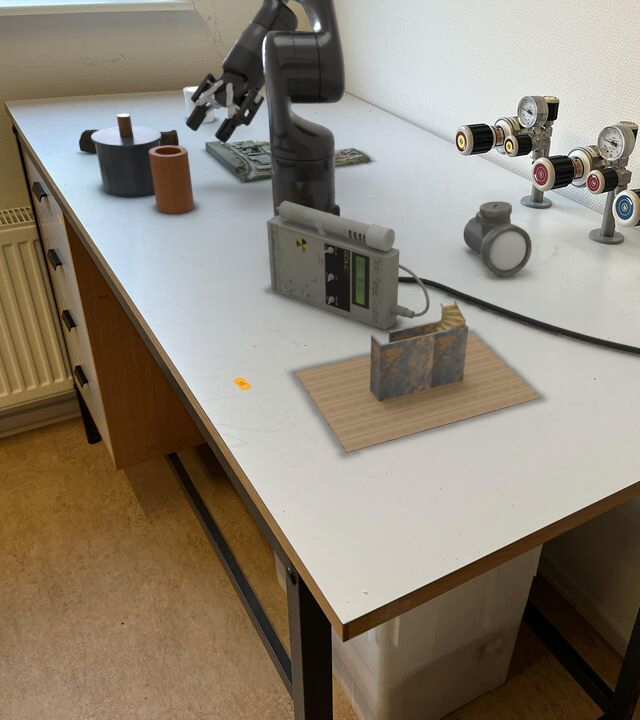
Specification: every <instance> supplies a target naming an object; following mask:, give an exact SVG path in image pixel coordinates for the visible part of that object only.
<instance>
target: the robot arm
mask: <svg viewBox="0 0 640 720" xmlns="http://www.w3.org/2000/svg"><path fill="white" fill-rule="evenodd" d="M290 1H291V0H263V1H262V3H261V6H260V7H259V9H258V10H257V11H256V13H255V14H254V16H253V18H252V19H251V21H250V23H249V24H247V27H246V28H244V30H242V32H241V33H240V35H239V37H238V39H236V41H235V43H234V44H233V46H232V47H231V49H230V50H229V52H228V54H227V55H226V56H225V58H224V59H223V61H222V63H221V67H222V71H223V72H222V74H221V75H220V77H218V78H217V77H216V76H215V75H213V73H211V72H209V73H207V74H206V76H205V77H204V78H203V80H202V81H201V83H200V84H199V85H198V86H199V87H198V88H197V90H196V91H195V93H194V94H193V96H192V97H191V100H192V101H193V102H194V103H195V108H194V110H193V112H192V113H191V115H190V117H189V116H188V118H187V120H186V121H185V125H186V127H188V128H189V129H190V130H191V131H194V132H197V131H198V130H199V129H200V127H201V125H203V123H202V122H203V120H204V119H205V117H206V116H207V115H206V114H207V113H209V112H210V111H212V110H213V109H214V110H219V109H221V108H225V109H227V117H225V118H224V119H223V121H222V122H221V124H220V126H219V127H218V129H217V131H216V132H215V133H214V137H215V138H216V139H217V141H220V142H221V144H223V143H228V141H229V140H230V138H231V137H232V135H233V134H234V132H235V130H237V128H238V127H241V126H242V125H244V126H245V127H248V126H250V125H251V123H252V122H253V120H254V118H255V116H256V114H257V113H258V112H259V109H260V108H261V106H262V104H263V103H264V101H265V97H264V96H263V95H262V93H261V90H262V89H263V87H264V85H265V95H266V105H267V117H268V134H269V142H270V158H271V177H272V178H271V190H272V191H271V192H272V193H271V194H272V208H273V217H275V216H278V215H279V212H277V209H276V208H277V207H280V205H281V203H282V202H283V201H288V202H291V203H295V204H298V205H302V206H305V207H309V208H312V209H315V210H319V211H322V212H326V213H331V214H333V215H336V216H340V217H341V207H340V205H338V204H336V167H335V152H336V142H335V141H336V140H335V135H334V132H333V131H332V130H330V128H328V127H326V126H325V125H322V124H318V123H316V122H313V121H310V120H308V119H305V118H303V117H302V116H300V115H298V114H297V113H295V112H294V111H293V110H292V107H291V106H292V105H313V104H314V105H325V104H327V105H328V104H335V103H338V102H340V101H341V100H342V99H343V97H344V95H345V92H346V87H347V86H346V85H347V74H346V73H347V72H346V71H347V70H346V61H345V54H344V49H343V43H342V37H341V33H340V26H339V21H338V16H337V11H336V6H335V1H334V0H292V1H294V2H296V3H298V4H299V5H301V6H302V7H303V10H304V12H305V14H306V16H307V19H308V20H309V23H310V27H311V29H312V31H311V30H298V29H299V26H300V21H299V18H298V15H296V13H295V12H294V11H293V9H291V7H289V6H288V5H289V2H290ZM202 93H204V96H203V97H202V98H199V97H200V95H201V94H202ZM213 95H214V98H213V97H212V96H213ZM208 102H209V103H210V104H209V105H207V106H206V104H207V103H208ZM247 111H248V113H247ZM246 113H247V115H245V114H246ZM418 278H419V279H420V280H421V282H422V283H423V285H424V286H428V287H431V288H434V289H437V290H439V291H442V292H445V293H448V294H449V295H451V296H454V297H456V298H458V299H460V300H464V301H466V302H468V303H471V304H474V305H477V306H479V307H482V308H484V309H487V310H490V311H492V312H495V313H497V314H499V315H503V316H506V317H507V318H508V317H509V318H511V319H514V320H516V321H520V322H523V323H525V324H528V325H530V326H534V327H537V328H540V329H543V330H545V331H549V332H552V333H555V334H558V335H562V336H565V337H568V338H572V339H574V340H575V339H576V340H579V341H582V342H586V343H590V344H593V345H597V346H601V347H604V348H605V347H606V348H610V349H613V350H617V351H622V352H626V353H631V354H636V355H640V347H638V346H633V345H629V344H628V345H627V344H624V343H620V342H615V341H611V340H607V339H602V338H599V337H594V336H591V335H587V334H584V333H580V332H576V331H574V330H569V329H566V328H563V327H560V326H556V325H553V324H551V323H547V322H543V321H541V320H539V319H535V318H532V317H529V316H527V315H524V314H520V313H518V312H515V311H512V310H509V309H507V308H503V307H501V306H498V305H496V304H493V303H491V302H488V301H485V300H483V299H480V298H477V297H475V296H472V295H470V294H467V293H464V292H462V291H460V290H458V289H455V288H452V287H450V286H448V285H445V284H442V283H439V282H437V281H433V280H430V279H427V278H422V277H418ZM398 283H403V284H404V283H409V284H419V283H418V282H417V280H416V279H415V278H414V277H413V276H398Z"/></svg>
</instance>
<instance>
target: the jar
mask: <svg viewBox="0 0 640 720" xmlns="http://www.w3.org/2000/svg"><path fill="white" fill-rule="evenodd" d="M149 158H150V165H151V172H152V178H153V185H154V192H155V194H154V197H155V204H156V209H157V210H158V211H159V212H160V213H164V214H170V215H172V214H173V215H176V214H177V215H179V214H183V213H188V212H190V211H192V210H193V209H194V208H195V205H194V204H195V202H194V194H193V185H192V176H191V169H190V162H189V161H190V160H189V159H190V158H189V151H188V149H187V148H186V147H183V146H170V145H169V146H168V145H167V146H158V147H154V148H152V149H150V150H149Z"/></svg>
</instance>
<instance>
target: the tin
mask: <svg viewBox="0 0 640 720" xmlns="http://www.w3.org/2000/svg"><path fill="white" fill-rule="evenodd" d="M95 146H96V151H97V153H96V156H97V161H98V168H99V172H100V177H101V183H102V187H103V191H104V192H105V193H106V194H109V195H111V196H115V197H121V198H140V197H146V196H147V197H148V196H152V195H155V192H154V185H153V178H152V172H151V165H150V158H149V150H150V149H152V148H154V147H158V146H160V141H158V142H157V143H154V144H152V145H148V146H143V147H136V148H111V147H105V146H100V145H97V144H95Z"/></svg>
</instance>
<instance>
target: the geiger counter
mask: <svg viewBox="0 0 640 720" xmlns="http://www.w3.org/2000/svg"><path fill="white" fill-rule="evenodd" d="M276 209H277V212H279V215H278V216H275V217H274V216H272V217H271V218H270V219H267V221H266V229H267V242H268V255H269V256H268V257H269V258H268V259H269V271H270V273H269V274H270V286H271V288H270V289H271V291H272V292H275V293H277V294H280V295H283V296H286V297H289V298H292V299H294V300H297V301H301V302H303V303H306V304H309V305H312V306H315V307H317V308H320V309H323V310H326V311H329V312H332V313H335V314H338V315H341V316H344V317H346V318H349V319H352V320H354V321H357V322H361V323H365V324H366V325H370V326H373V327H375V328H378V329H380V330H384V331H386V330H388V329H390V328H392V327H393V326H395V324H396V322H397V321H398V316H400V317H402V318H408V319H414V318H418V317H419V318H420V317H422V316H424V315H425V314H426V313H428V311H429V310H430V304H431V303H430V296H429V293H428V290H427V288H426V287H425V286H426V285H424V284H423V283H422V282H421V280H420V279H419V278H420V277H418V276H417V274H416V273H415V272H413V271H412V270H410V269H409V268H407V267H406V266H404V265H402V264H400V249H398V248H394V247H393V246H394V244H395V241H396V240H395V239H396V233H395V230H394V229H393V228H390V227H387V226H383V225H380V224H376V223H371V224H367V223H364V222H360V221H356V220H353V219H349V218H347V217H342V216H341V215H340V216H336V215H333V214H331V213H326V212H322V211H319V210H315V209H312V208H309V207H305V206H302V205H298V204H295V203H291V202H288V201H283V202H282V203H281V205H280V207H277V208H276ZM400 269H401V270H403V271H405V272H406V273H408V274H410V276H411V277H414V278H415V279H416V280H417V282H418V283H417V284H419V286H420V288H421V289H422V291H423V294H424V297H425V302H426V303H425V304H426V305H425V308H424V310H422V311H420V312H417V313H416V312H415V311H414V310H411V309H409V308H408V307H405V306H402V305H399V304H398V296H399V282H398V277H399V274H400V272H399V271H400Z"/></svg>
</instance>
